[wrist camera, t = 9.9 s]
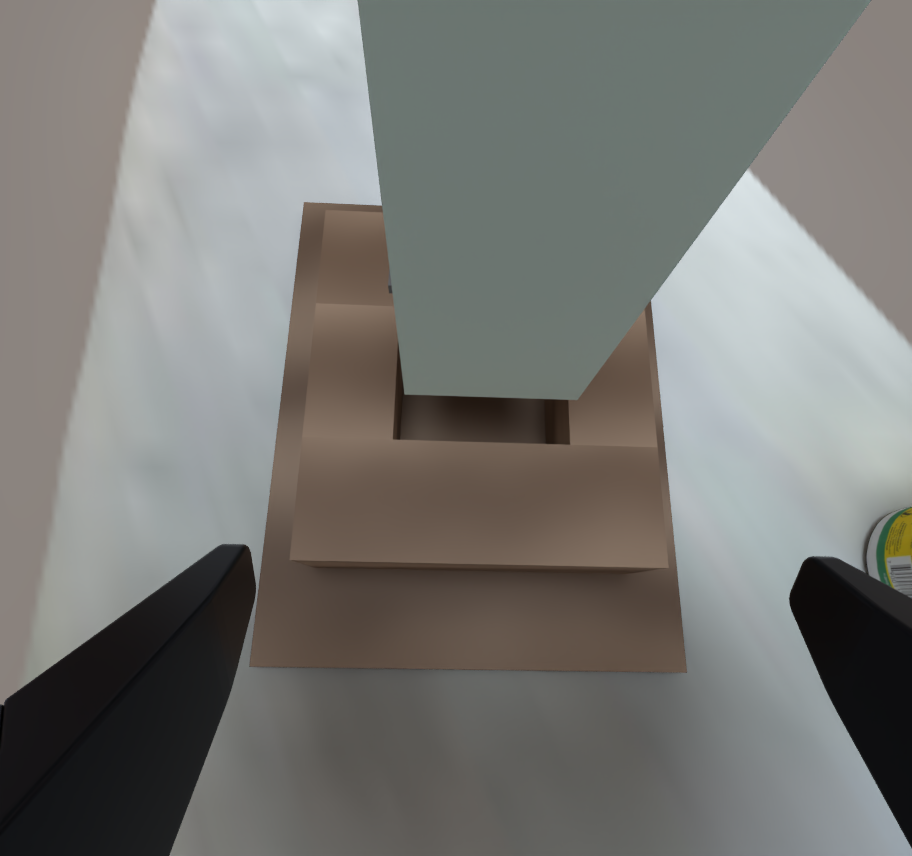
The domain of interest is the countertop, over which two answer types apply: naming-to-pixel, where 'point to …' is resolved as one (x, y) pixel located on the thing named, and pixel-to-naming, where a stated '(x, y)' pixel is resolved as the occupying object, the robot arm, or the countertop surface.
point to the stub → (563, 166)
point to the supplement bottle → (892, 551)
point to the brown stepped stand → (456, 498)
